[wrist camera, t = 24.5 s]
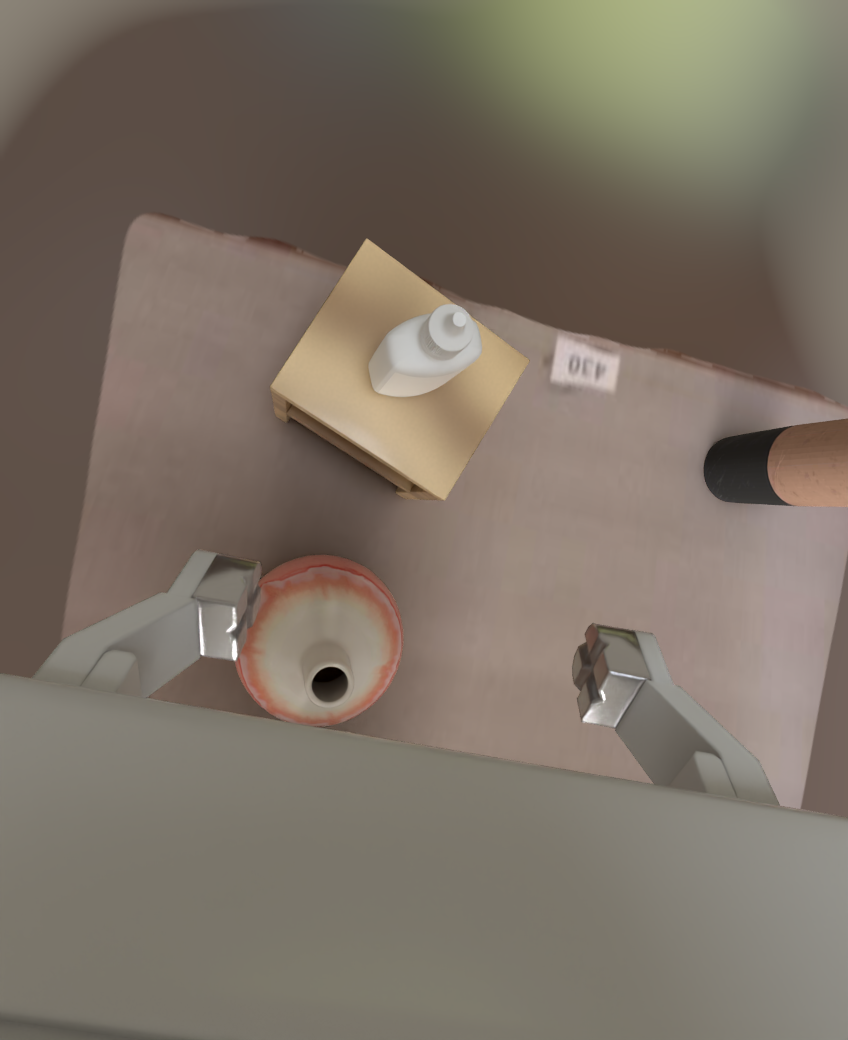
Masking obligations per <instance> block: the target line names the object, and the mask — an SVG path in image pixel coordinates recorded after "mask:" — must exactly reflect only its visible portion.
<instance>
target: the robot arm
mask: <svg viewBox="0 0 848 1040" xmlns="http://www.w3.org/2000/svg"><path fill="white" fill-rule="evenodd" d="M261 575H262V564H261V563H260V562H259V561H254V560H250V559H245V558H240V557H235V556H230V555H226V554H221V553H219V554H218V553H214V552H209V551H204V550H200V549H198V550H197V551H195V552H194V553H193V554H192V556H191V557H190V559H189V560H188V562H187V563H186V565H185V566H184V568H183V569H182V571H181V572H180V574H179V575H178V577H177V578H176V580H175V581H174V583H173V584H172V586H171V587H170V589H169V590H168V592H167V593H161V592H160V593H158V594H156V595H154V596H152V597H150V598H147V599H145V600H143V601H141V602H139V603H137V604H135V605H133V606H131V607H129V608H127V609H125V610H122V611H120V612H118V613H116V614H114V615H112V616H110V617H108V618H106V619H104V620H102V621H99V622H97V623H95V624H93V625H91V626H89V627H87V628H85V629H83V630H81V631H79V632H77V633H74V634H72V635H70V636H68V637H66V638H64V639H63V640H62V641H61V642H60V644H59V645H58V646H57V647H56V648H55V650H54V651H53V652H52V653H51V655H50V656H49V657H48V659H47V660H46V661H45V662H44V663H43V665H42V666H41V667H40V668H39V670H38V671H37V672H36V673H35V674H34V676H33V677H32V678H27V677H21V676H14V675H9V674H3V673H0V1040H848V817H843V816H837V815H831V814H825V813H820V812H814V811H808V810H802V809H796V808H790V807H785V806H780V804H779V802H778V800H777V798H776V796H775V794H774V792H773V789H772V787H771V785H770V783H769V781H768V779H767V777H766V774H765V772H764V770H763V768H762V766H761V764H760V762H759V760H758V759H757V758H756V757H755V756H754V755H752V754H751V753H750V752H749V751H748V750H747V749H746V748H745V747H744V746H743V745H742V744H741V743H740V742H739V741H738V740H737V739H735V738H734V737H733V736H732V735H731V734H730V733H729V732H728V731H727V730H726V729H725V728H724V727H723V726H722V725H721V724H720V723H718V722H717V721H716V720H715V719H714V718H713V717H712V716H711V715H710V714H709V713H708V712H707V711H706V710H705V709H704V708H703V707H701V706H700V705H699V704H698V703H697V702H696V701H695V700H694V699H693V698H692V697H691V696H690V695H689V694H688V693H687V692H686V691H684V690H683V689H682V688H681V687H680V686H677V685H674V684H673V681H672V679H671V676H670V674H669V671H668V668H667V666H666V663H665V661H664V658H663V655H662V653H661V650H660V648H659V645H658V642H657V640H656V637H655V636H654V635H653V634H652V633H648V632H642V631H636V630H629V629H623V628H617V627H612V626H606V625H600V624H595V623H592V624H591V625H590V626H589V627H588V629H587V630H586V632H585V638H586V642H585V643H584V644H582V645H580V646H578V649H577V651H576V653H575V655H574V660H573V665H572V676H573V682H574V684H575V686H576V687H577V688H578V689H579V690H580V691H581V692H580V694H579V696H578V697H577V702H578V707H579V712H580V717H581V722H585V723H590V724H595V725H600V726H604V727H609V728H614V729H615V731H616V733H617V734H618V735H619V737H620V738H621V739H622V741H623V742H624V743H625V745H626V746H627V748H628V749H629V750H630V752H631V753H632V754H633V756H634V757H635V759H636V760H637V761H638V763H639V764H640V765H641V767H642V768H643V770H644V771H645V772H646V774H647V775H648V776H649V778H650V779H651V780H652V782H653V783H654V784H649V783H644V782H638V781H632V780H626V779H620V778H614V777H608V776H602V775H596V774H590V773H584V772H578V771H572V770H567V769H561V768H555V767H549V766H543V765H537V764H532V763H526V762H520V761H514V760H508V759H503V758H497V757H491V756H485V755H479V754H473V753H468V752H462V751H456V750H450V749H444V748H438V747H432V746H426V745H420V744H415V743H409V742H403V741H397V740H391V739H385V738H379V737H373V736H367V735H362V734H356V733H350V732H344V731H338V730H332V729H326V728H320V727H314V726H309V725H303V724H297V723H291V722H285V721H279V720H273V719H267V718H262V717H256V716H250V715H244V714H238V713H232V712H226V711H220V710H215V709H209V708H203V707H197V706H191V705H185V704H179V703H173V702H168V701H162V700H156V699H150V698H147V697H148V696H150V695H151V694H152V693H154V692H155V691H156V690H158V689H159V688H160V687H162V686H163V685H164V684H166V683H167V682H169V681H170V680H171V679H173V678H174V677H175V676H177V675H178V674H179V673H181V672H182V671H183V670H185V669H186V668H187V667H189V666H190V665H191V664H193V663H194V662H196V661H197V660H198V659H200V656H203V657H210V658H217V659H224V660H230V661H237V660H238V658H239V656H240V654H241V651H242V649H243V647H244V645H245V642H246V636H247V629H249V628H251V627H252V626H253V624H254V622H255V619H256V616H257V613H258V609H259V606H260V599H261V588H260V586H259V585H258V582H259V579H260V577H261Z"/></svg>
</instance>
